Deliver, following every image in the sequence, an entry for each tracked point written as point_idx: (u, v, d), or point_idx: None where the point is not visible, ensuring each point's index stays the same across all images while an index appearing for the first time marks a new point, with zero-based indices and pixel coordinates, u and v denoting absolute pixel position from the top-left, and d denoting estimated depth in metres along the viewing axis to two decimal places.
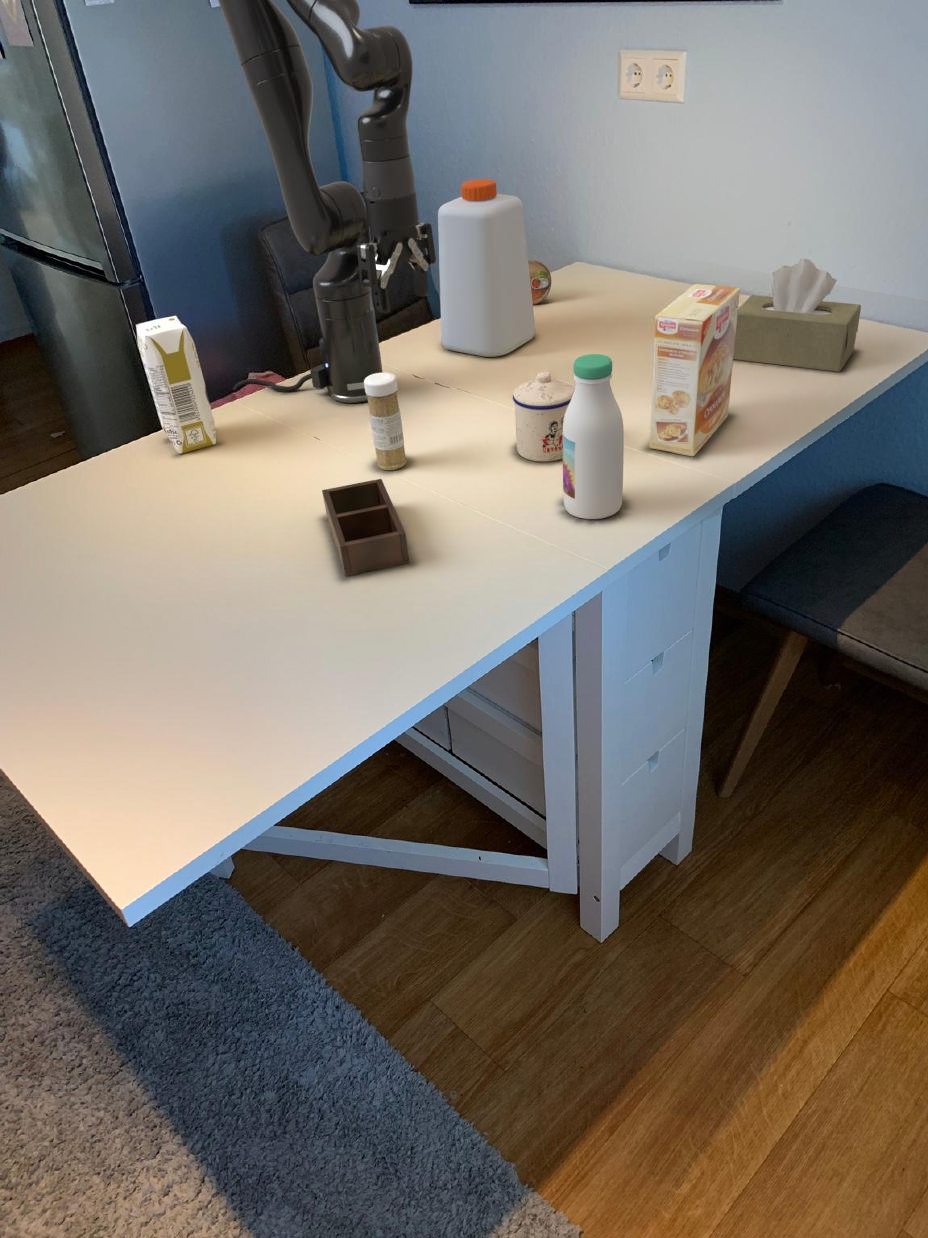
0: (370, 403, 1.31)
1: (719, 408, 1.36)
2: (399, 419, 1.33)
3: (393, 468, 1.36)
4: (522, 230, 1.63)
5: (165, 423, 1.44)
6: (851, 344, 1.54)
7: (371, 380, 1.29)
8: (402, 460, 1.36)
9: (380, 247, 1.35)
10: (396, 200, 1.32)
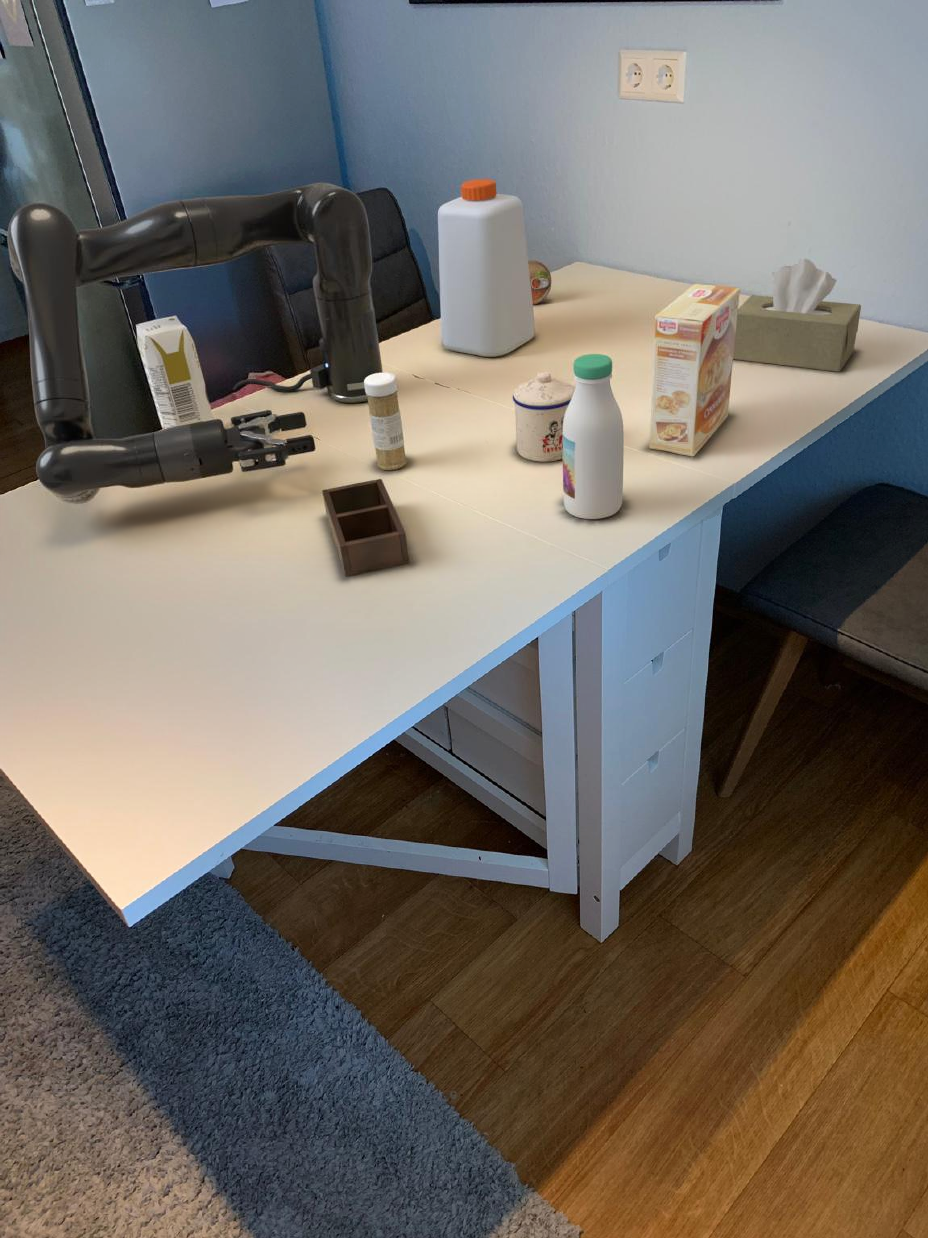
0: (370, 403, 1.31)
1: (719, 408, 1.36)
2: (399, 419, 1.33)
3: (393, 468, 1.36)
4: (522, 230, 1.63)
5: (165, 423, 1.44)
6: (851, 344, 1.54)
7: (371, 380, 1.29)
8: (402, 460, 1.36)
9: (244, 449, 1.26)
10: (193, 435, 1.25)
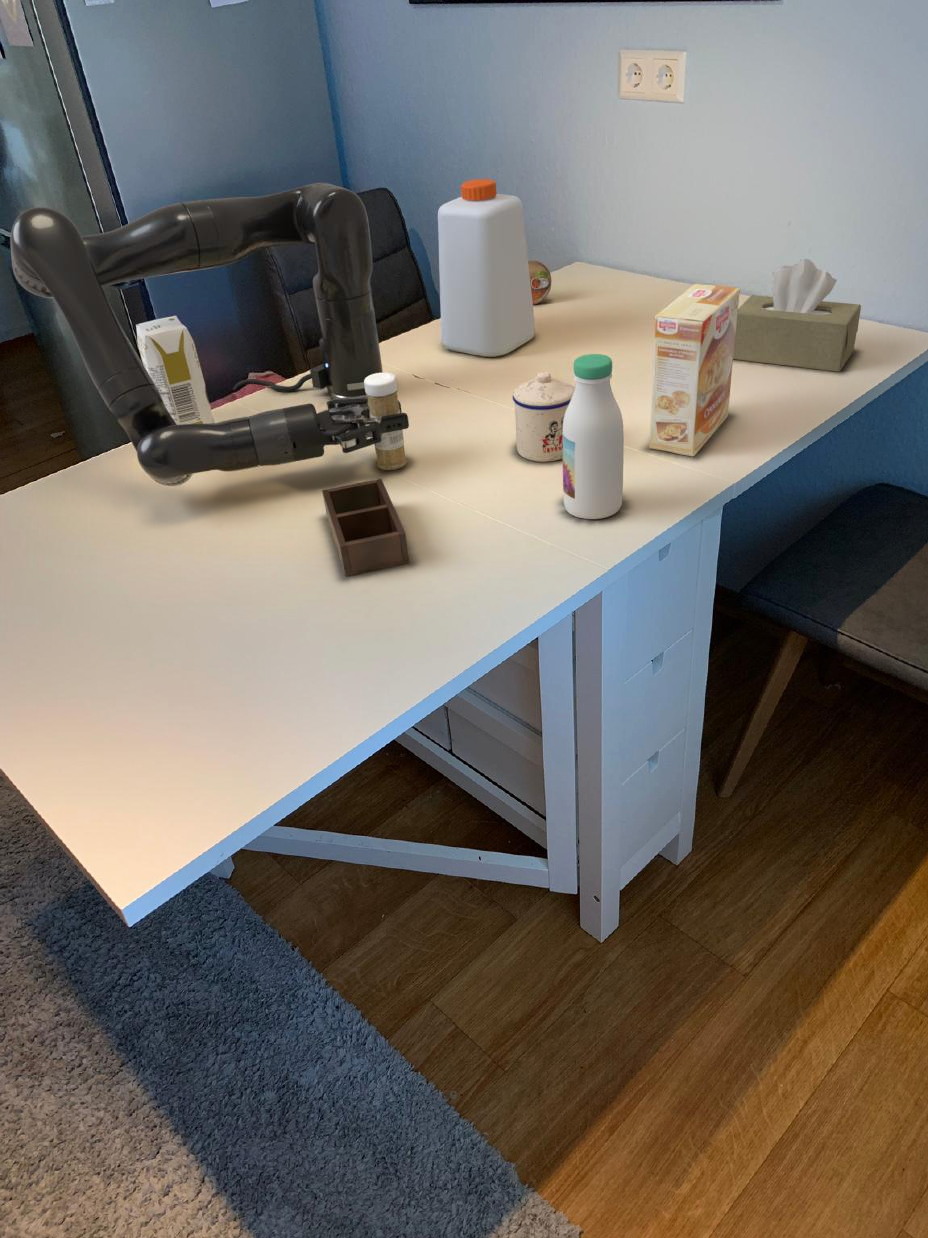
0: (370, 403, 1.31)
1: (719, 408, 1.36)
2: None
3: (393, 468, 1.36)
4: (522, 230, 1.63)
5: None
6: (851, 344, 1.54)
7: (371, 380, 1.29)
8: (402, 460, 1.36)
9: (339, 431, 1.29)
10: (287, 419, 1.28)
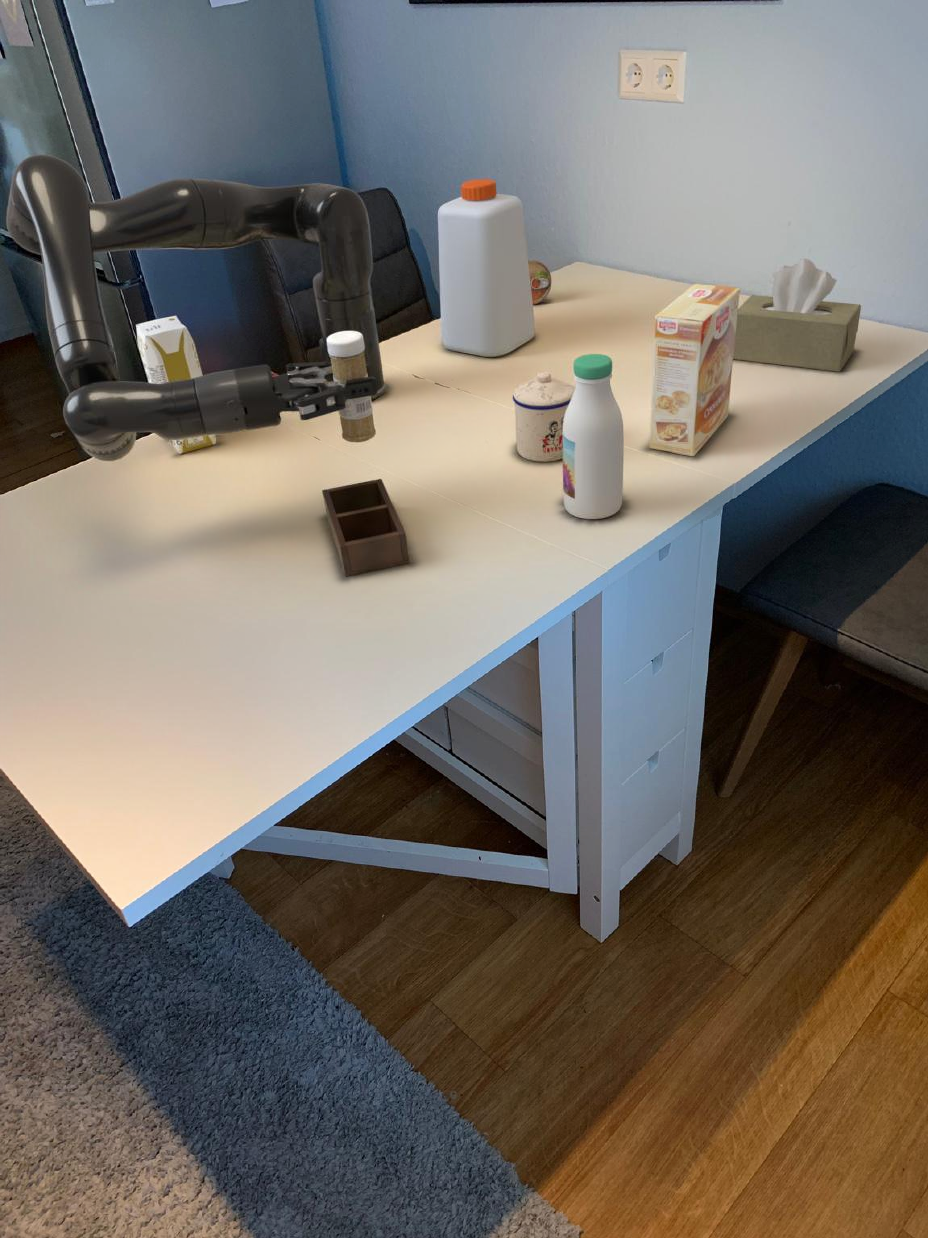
0: (333, 365, 1.15)
1: (719, 408, 1.36)
2: None
3: (360, 440, 1.20)
4: (522, 230, 1.63)
5: None
6: (851, 344, 1.54)
7: (335, 338, 1.14)
8: (370, 431, 1.21)
9: (297, 396, 1.13)
10: (238, 381, 1.12)
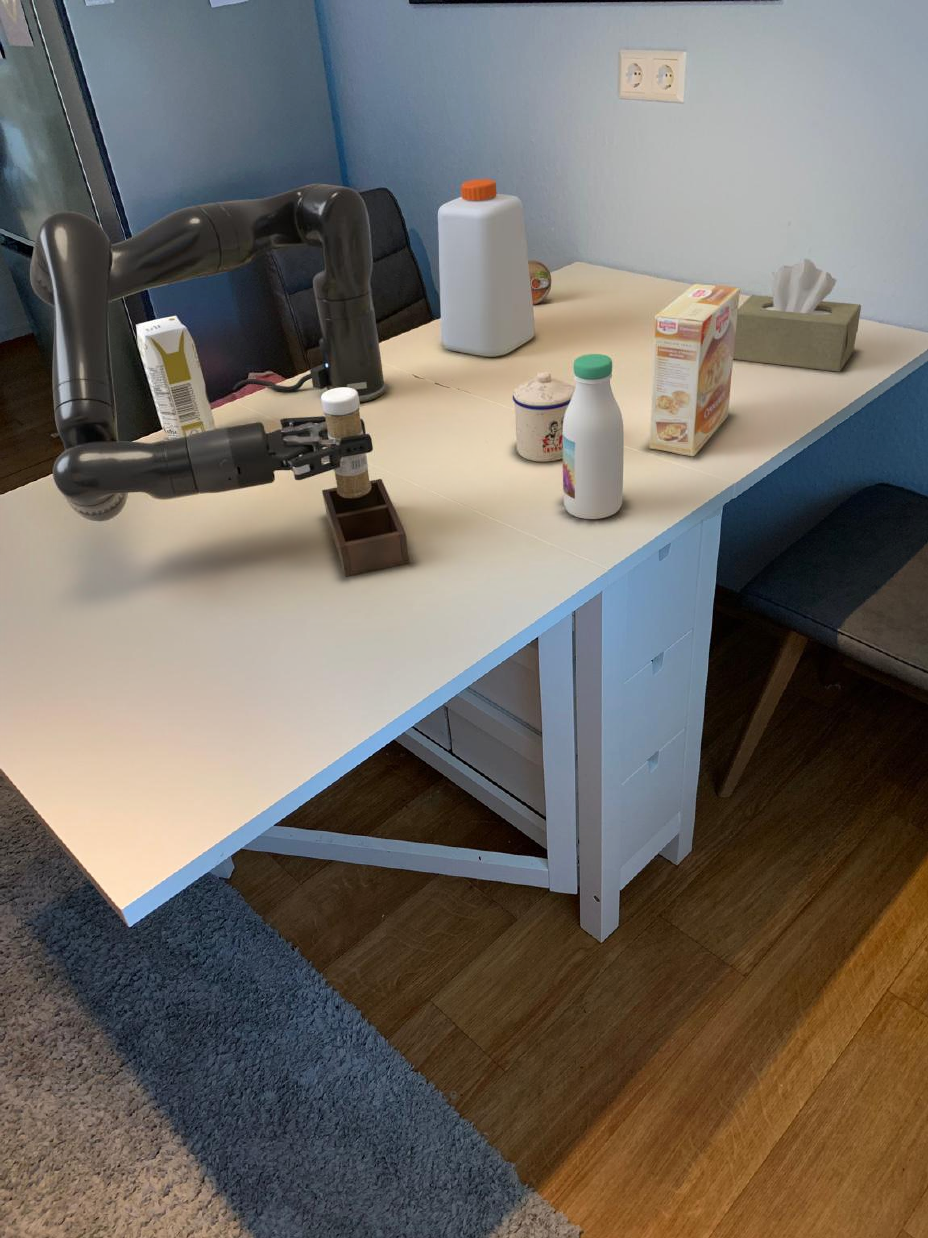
0: (328, 422, 1.14)
1: (719, 408, 1.36)
2: None
3: (355, 496, 1.19)
4: (522, 230, 1.63)
5: (165, 423, 1.44)
6: (851, 344, 1.54)
7: (329, 396, 1.12)
8: (366, 487, 1.19)
9: (291, 455, 1.11)
10: (231, 440, 1.10)
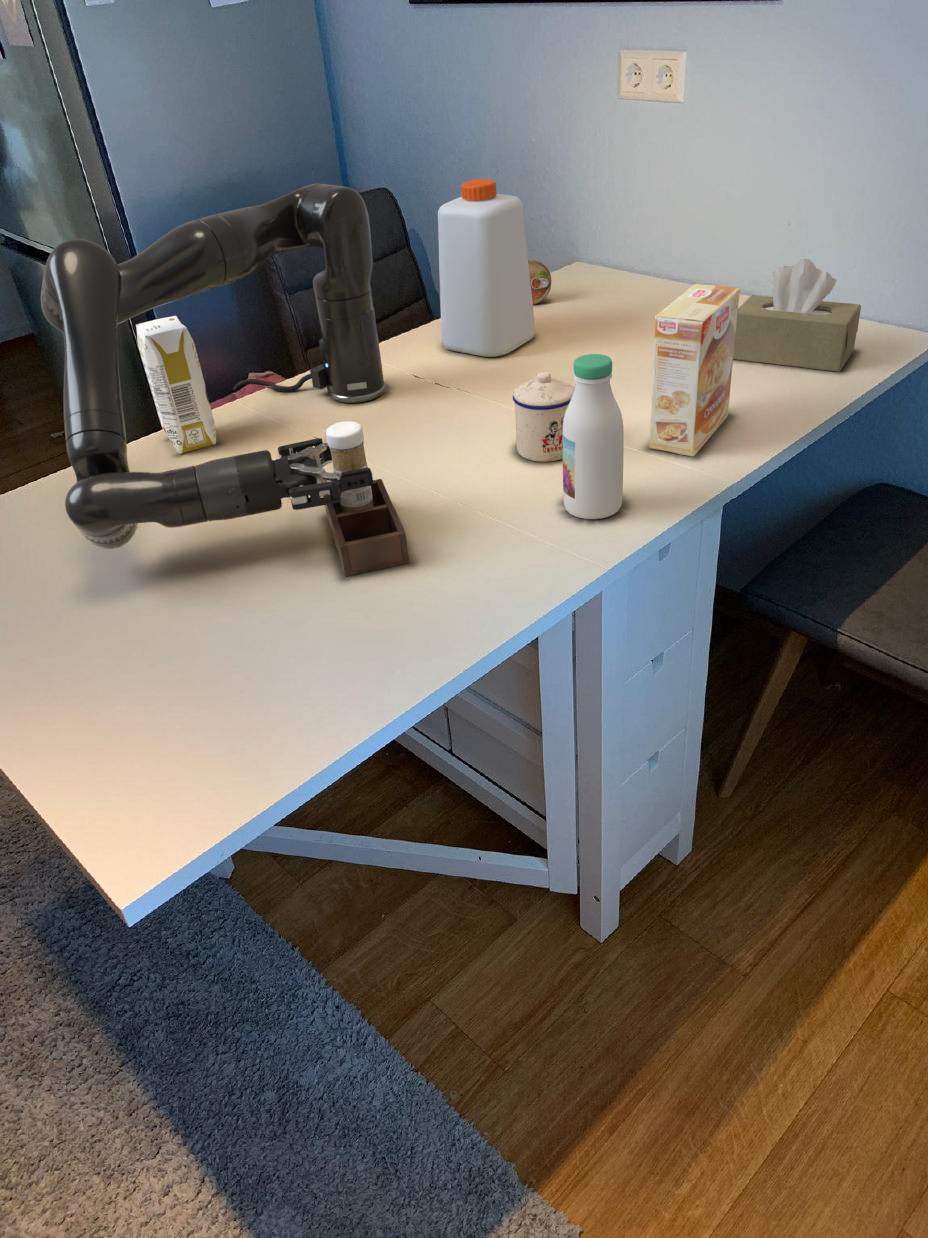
0: (333, 456, 1.16)
1: (719, 408, 1.36)
2: None
3: None
4: (522, 230, 1.63)
5: (165, 423, 1.44)
6: (851, 344, 1.54)
7: (334, 431, 1.15)
8: None
9: (295, 484, 1.13)
10: (239, 469, 1.13)
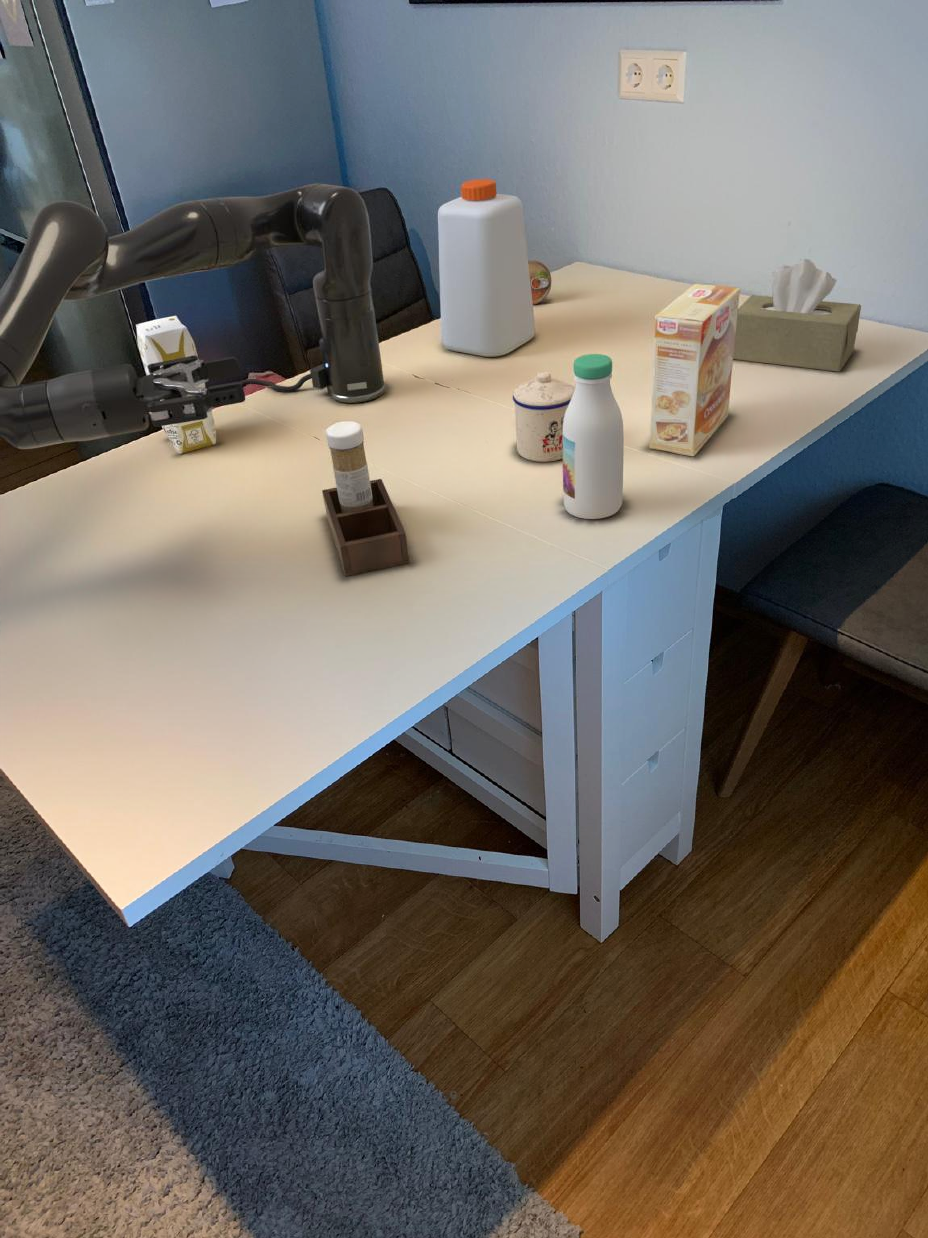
0: (333, 456, 1.16)
1: (719, 408, 1.36)
2: (366, 473, 1.18)
3: None
4: (522, 230, 1.63)
5: None
6: (851, 344, 1.54)
7: (334, 431, 1.15)
8: None
9: (156, 399, 1.03)
10: (94, 382, 1.03)
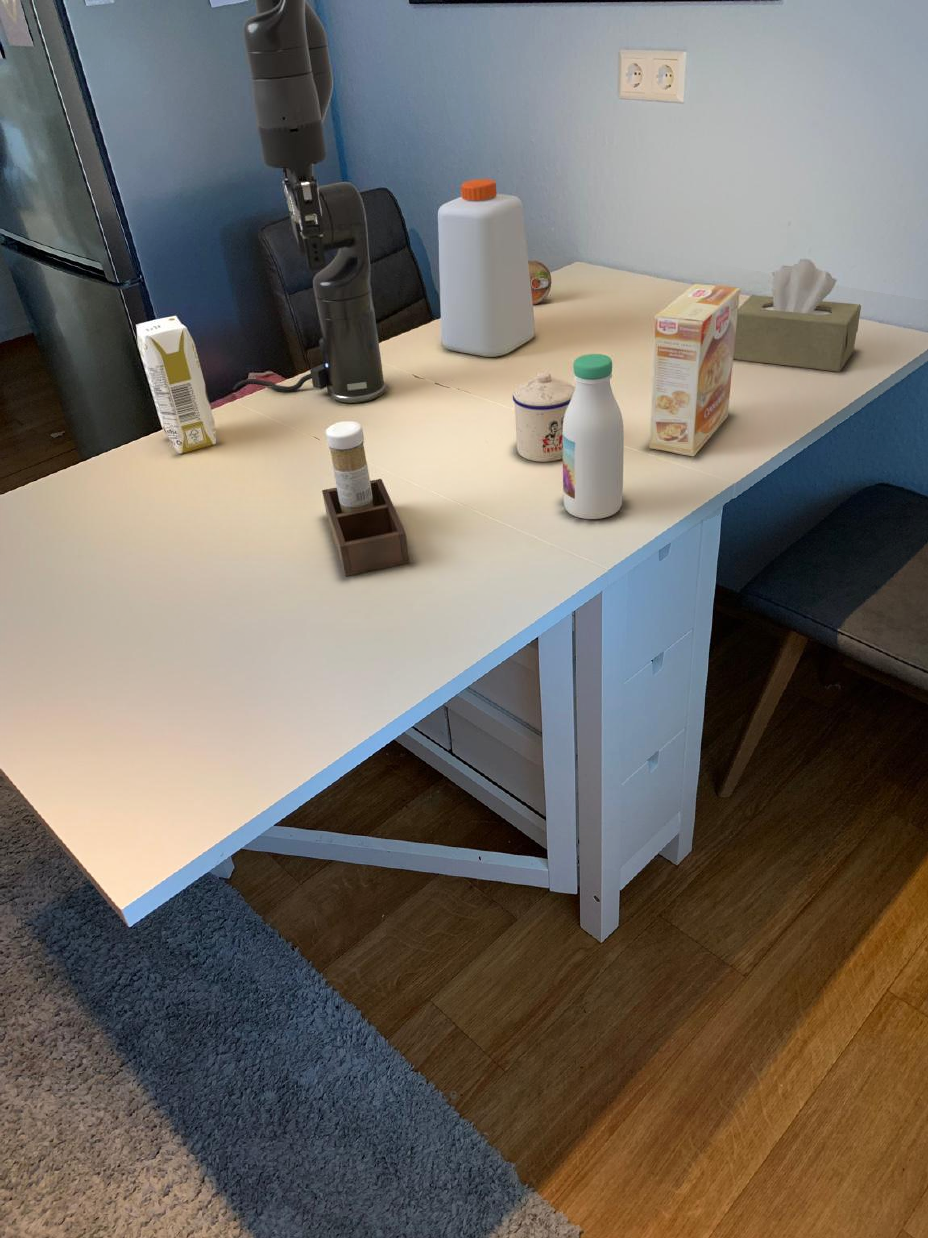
0: (333, 456, 1.16)
1: (719, 408, 1.36)
2: (366, 473, 1.18)
3: None
4: (522, 230, 1.63)
5: (165, 423, 1.44)
6: (851, 344, 1.54)
7: (334, 431, 1.15)
8: None
9: None
10: (318, 123, 1.09)
